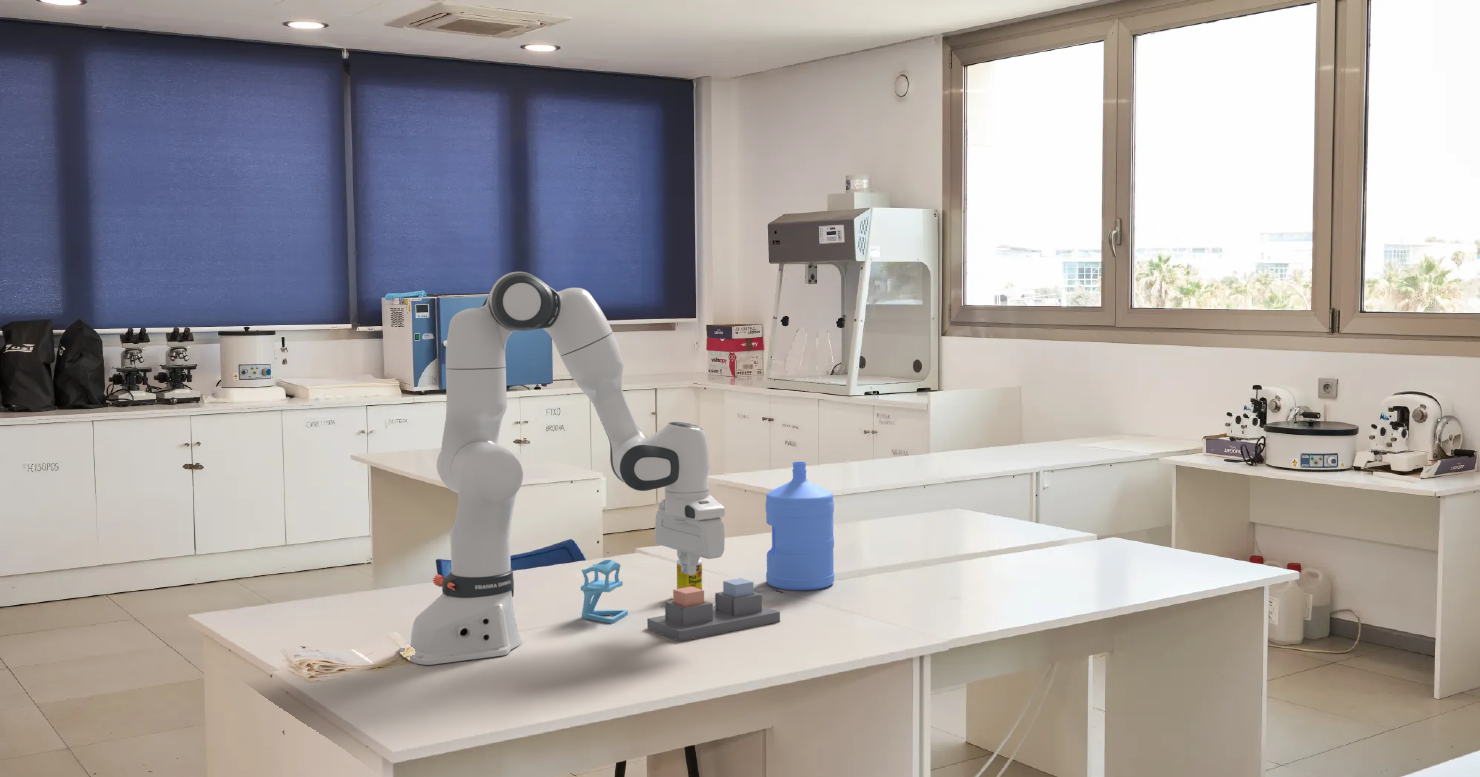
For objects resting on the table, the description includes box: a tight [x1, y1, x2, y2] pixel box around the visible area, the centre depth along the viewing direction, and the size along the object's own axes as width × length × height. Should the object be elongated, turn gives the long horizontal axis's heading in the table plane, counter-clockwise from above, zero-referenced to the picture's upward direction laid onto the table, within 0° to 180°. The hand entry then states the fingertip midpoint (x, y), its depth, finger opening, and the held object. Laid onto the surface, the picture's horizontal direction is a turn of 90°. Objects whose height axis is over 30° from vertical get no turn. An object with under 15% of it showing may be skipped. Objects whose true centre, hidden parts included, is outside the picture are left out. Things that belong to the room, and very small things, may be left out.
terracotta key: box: [672, 586, 705, 607], centre depth 240 cm, size 4×4×3 cm
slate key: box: [722, 577, 755, 598], centre depth 247 cm, size 4×4×3 cm
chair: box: [580, 559, 629, 624], centre depth 251 cm, size 8×8×12 cm
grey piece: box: [646, 591, 781, 642], centre depth 244 cm, size 24×12×6 cm, turn 125°
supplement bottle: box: [676, 558, 703, 590], centre depth 268 cm, size 6×6×10 cm
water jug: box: [765, 461, 835, 592], centre depth 278 cm, size 16×16×28 cm
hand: (688, 573), depth 240 cm, fingers closed
